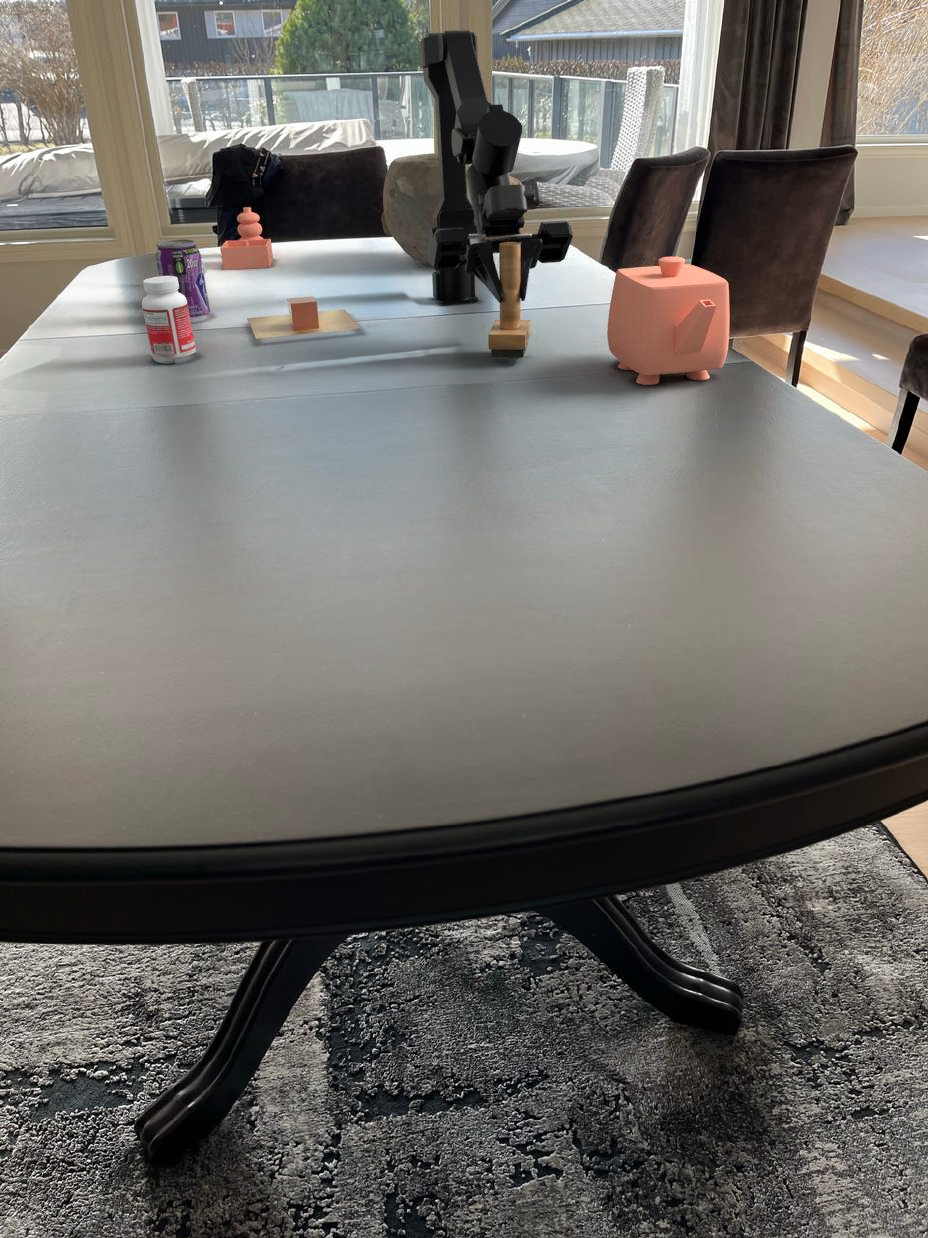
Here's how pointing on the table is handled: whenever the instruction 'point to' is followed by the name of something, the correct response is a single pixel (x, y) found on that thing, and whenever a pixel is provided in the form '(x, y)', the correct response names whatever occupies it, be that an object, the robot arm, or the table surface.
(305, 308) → the cube
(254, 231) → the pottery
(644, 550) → the table surface
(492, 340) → the wooden stamp
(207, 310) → the beverage can
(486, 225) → the robot arm
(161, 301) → the pill bottle
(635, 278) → the teapot
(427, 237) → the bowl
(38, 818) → the table surface
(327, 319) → the board
